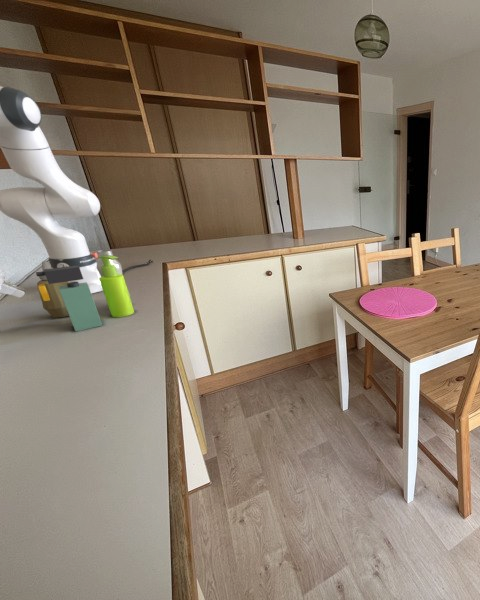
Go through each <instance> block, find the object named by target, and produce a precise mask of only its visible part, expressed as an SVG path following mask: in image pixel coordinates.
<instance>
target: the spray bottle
mask: <svg viewBox="0 0 480 600" xmlns="http://www.w3.org/2000/svg"><path fill="white" fill-rule="evenodd" d="M35 274H36V277H38V278H39V276H46V278H47V281H48V283H49V284H53V283H60V282H67V281H74V280H81V279H83V276H82V273H81V271H80V268H79V265H77V266H68V267H60V268H52V269H44V271H36V272H35ZM59 291H60V293H61V296H62V298H63V301H64V303H65V306H66V309H67V311H68V314H69V316H68V317H69V319H70V321H71V324H72V327H73V329H74V331H75V332H80V331H83V330H89V329H93V328H97V327H98V328H99V327H102V326H103V323H102V320H101V318H100V314H99V312H98V309H97V307H96V303H95V301H94V297H93V295H92V293H91V292H90V289H89V286H88V284H87V282H85V283H78V282H70V283H67V285H65V286H59Z"/></svg>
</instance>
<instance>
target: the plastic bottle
mask: <svg viewBox="0 0 480 600" xmlns="http://www.w3.org/2000/svg"><path fill="white" fill-rule="evenodd" d="M96 254H97V258H98V257H99V256H104V255H112V256H114V253H113V251H112V250H111V249H101V250H97V251H96ZM109 260H110V259H109ZM96 263H97V270H98V272H99V274H100V276H101V277H103V276H104V275H103V272H102V269H101V267H102V266H103V265H104V264H103V261H102V258H98V261H97V262H96ZM110 263H111V264H112V265H115V267H116V271H117V274H122V275H123V276H124V274H123V273H124V272H123V273H122V271H123V266H122V264H121V262H120V261H119V260H118V259H113V260H110ZM128 293H129V296H130V299H131V302H132V303H133V298H132V295H131V293H130V291H128Z"/></svg>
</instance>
